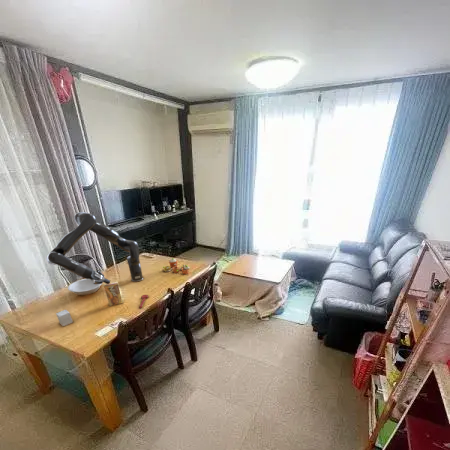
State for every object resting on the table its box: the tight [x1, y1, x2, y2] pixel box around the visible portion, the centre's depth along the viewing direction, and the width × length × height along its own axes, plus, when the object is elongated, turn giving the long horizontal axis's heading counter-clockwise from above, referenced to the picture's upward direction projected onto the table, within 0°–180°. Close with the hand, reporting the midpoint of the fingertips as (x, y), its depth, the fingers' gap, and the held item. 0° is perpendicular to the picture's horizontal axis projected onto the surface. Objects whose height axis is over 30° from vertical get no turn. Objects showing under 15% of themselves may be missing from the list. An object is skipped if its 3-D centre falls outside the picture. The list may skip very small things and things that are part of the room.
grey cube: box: [55, 309, 74, 327], centre depth 158 cm, size 6×6×7 cm
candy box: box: [103, 281, 124, 306], centre depth 176 cm, size 9×4×15 cm, turn 116°
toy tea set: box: [162, 257, 190, 275], centre depth 229 cm, size 26×16×10 cm, turn 68°
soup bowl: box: [67, 278, 103, 296], centre depth 194 cm, size 24×24×7 cm
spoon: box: [138, 294, 149, 309], centre depth 181 cm, size 17×5×1 cm, turn 4°
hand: (109, 282), depth 172 cm, fingers closed
